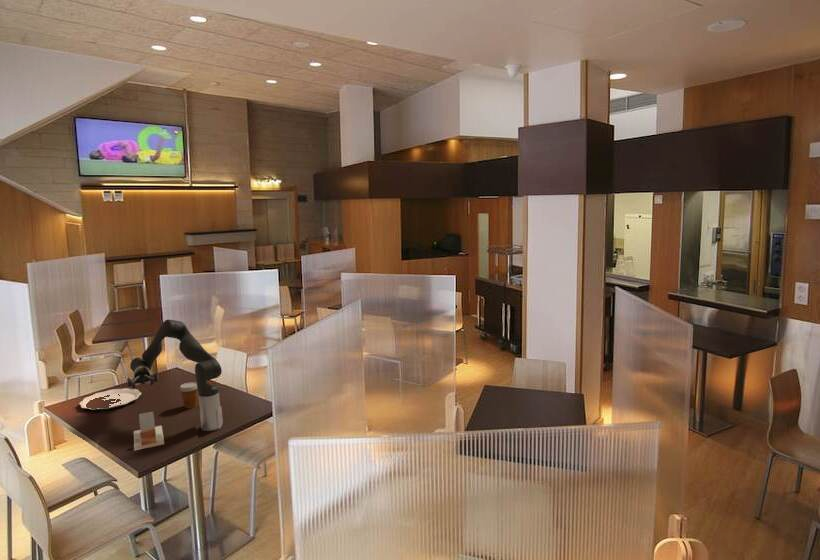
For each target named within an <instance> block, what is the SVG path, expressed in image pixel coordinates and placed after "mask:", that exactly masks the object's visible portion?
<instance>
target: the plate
mask: <svg viewBox="0 0 820 560" xmlns="http://www.w3.org/2000/svg"><path fill="white" fill-rule="evenodd" d="M118 394H119V395H120V396H119V395H118ZM107 395H110V396H109V397H104V396H107ZM141 395H142V392H141V391H139V389H136V388H130V387H126V388H117V389H116V388H114V389H109V390H105V391H101V392H100V391H99V392H96V393H94V394H92V395H90V396H87V397H84V398H83V400H81V401H80V402H79V403H78V405H79V406H80V408H81V409H85V410H89V409H90V411H96V410H99V411H107V410H108V409H109V410H114V409H118V408H122V407H124V405H125V406H127V405H129V404H130V403H133V402H134V401H136V400H137V399H139V397H140V396H141ZM99 397H104V398H106V399H102V400H104V401H105V400H109V399H116V400H117V399H120V400H121V401H119V402H117V403H114V404H109V405H111V406H109V408H97V409H91V408H87V407H86V404H87V403H88V402H89V401H90V400H93V399H95V398H99ZM116 400H115V401H111V402H116ZM120 403H121V404H120ZM121 406H122V407H121ZM113 408H114V409H113ZM109 410H108V411H109Z"/></svg>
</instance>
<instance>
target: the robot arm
mask: <svg viewBox="0 0 820 560" xmlns="http://www.w3.org/2000/svg"><path fill="white" fill-rule="evenodd" d="M165 338H171V339H177V340H178V341H179V351H180V352H181V353H180V354H182V356H184V357H185V358H186V359H187V360H189V361H191V362H194V363H196V364H195V366H194V373H195V374H194V375H195V381H196V383H197V389H198V395H199V398H198V405H199V406H198V408H199V415H200V427H201V430H202V431H204V432H212V431H216V430H220V429H221V427H222V426H223V424H224V423H223V422H224V419H223V411H222V410H223V408H222V405H221V403H220V401H221V400H220V388H219V386H218V385H217V384H213V383H211V384H210V383H209V384H208V382H207V381H210V380H214V379H217V378H219V377H220V376H221V375H222V372H223V370H222V366H221V363H220V362H219V361H218V360H217V359H216V358H215V357H213V355H212V354H210V353H209V352H208V351H207V350H206V349H205V348H204V347H203V346H202V345H201V343H200V342H199V341H198V340H197V339H196V338H195V337H194V336H193V334H191V332H190V330H189V329H188V327H187V326H186V324H185V323H184V322H182V321H180V320H174V319H166V320H164V321H163V322H162V323H161V325H160V326H159V329H158V330H157V331H156V334H155V336H154V337H153V340H152V341H151V342H150V345H148V347H147V348H146V349H145V350H144V352H143V353H142V355H141V357H134V358H133V359H132V360H131V362H130V365H129V366H130V371H132V372H133V378H132V379H131V378H129V377H128V378H126V382H127V388H130V387H131V388H133V389H136V386H138V385H145V384H150V386H153V385H154V384H155V383H158V374H157V373H155V374H154V375H151V371H152V368H153V364H154V362H155V361H156V360H157V358H158V357H160V355H161V354H162V352H163V340H164V339H165Z"/></svg>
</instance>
